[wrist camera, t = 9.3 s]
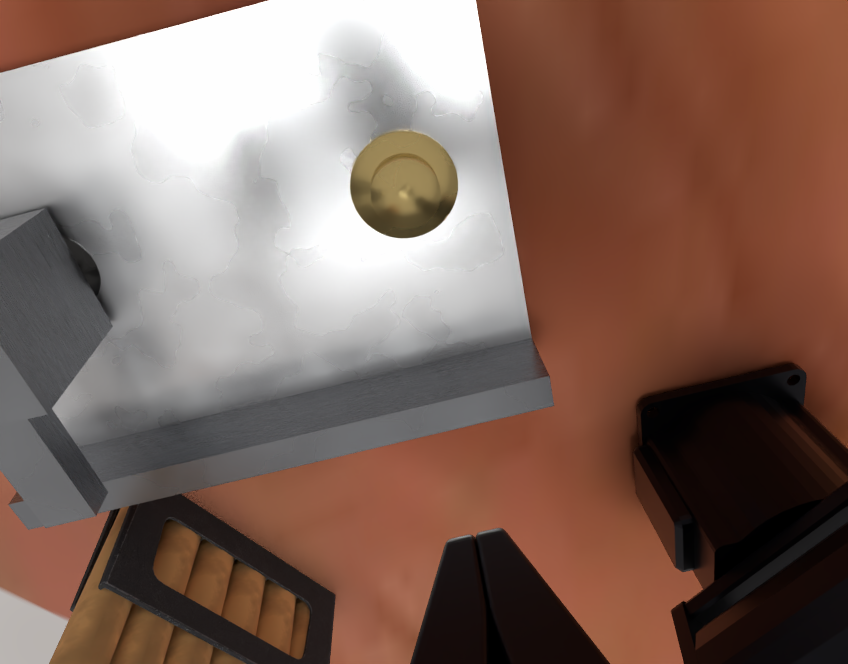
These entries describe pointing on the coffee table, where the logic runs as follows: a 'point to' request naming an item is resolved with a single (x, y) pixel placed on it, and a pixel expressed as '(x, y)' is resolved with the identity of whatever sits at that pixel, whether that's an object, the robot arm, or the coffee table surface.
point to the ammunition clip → (191, 596)
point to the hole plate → (277, 238)
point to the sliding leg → (44, 367)
